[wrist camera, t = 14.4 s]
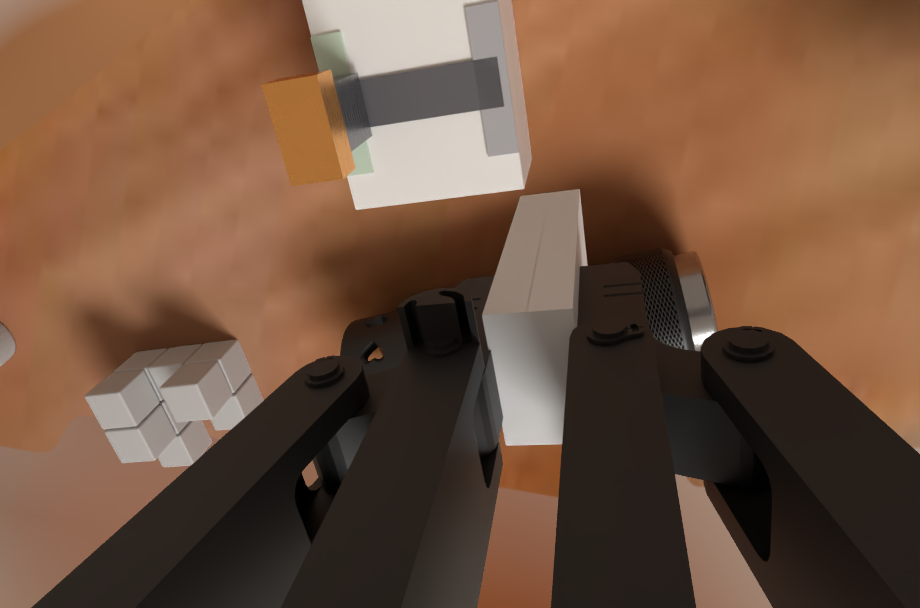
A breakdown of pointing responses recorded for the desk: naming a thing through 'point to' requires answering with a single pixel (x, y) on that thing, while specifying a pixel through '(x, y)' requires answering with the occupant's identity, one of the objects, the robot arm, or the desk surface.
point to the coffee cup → (6, 344)
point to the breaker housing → (429, 95)
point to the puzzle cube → (174, 401)
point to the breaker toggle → (318, 124)
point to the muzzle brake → (662, 275)
